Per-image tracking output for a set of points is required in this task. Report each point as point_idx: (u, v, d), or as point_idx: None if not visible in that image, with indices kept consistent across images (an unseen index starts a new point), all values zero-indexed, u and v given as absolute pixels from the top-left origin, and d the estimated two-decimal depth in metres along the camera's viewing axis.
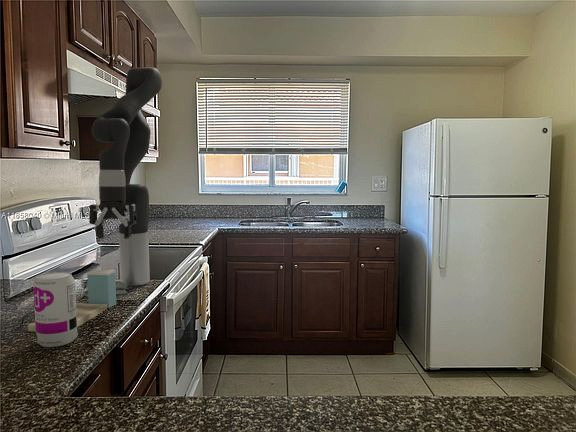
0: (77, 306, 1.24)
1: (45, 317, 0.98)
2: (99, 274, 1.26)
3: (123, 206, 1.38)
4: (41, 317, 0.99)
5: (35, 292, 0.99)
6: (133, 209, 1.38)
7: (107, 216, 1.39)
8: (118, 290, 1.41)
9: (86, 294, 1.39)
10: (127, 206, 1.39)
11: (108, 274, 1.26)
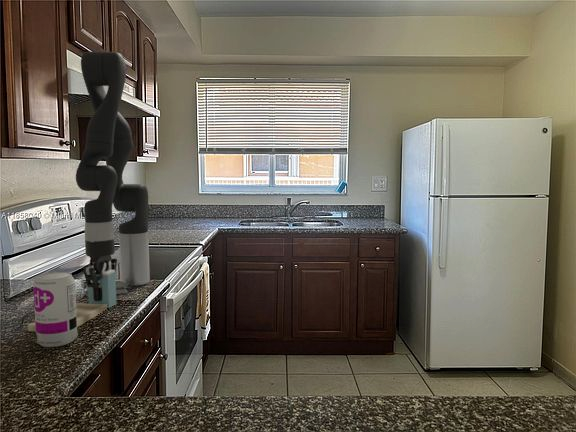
0: (77, 306, 1.24)
1: (45, 317, 0.98)
2: None
3: (111, 259, 1.32)
4: (41, 317, 0.99)
5: (35, 292, 0.99)
6: None
7: None
8: (119, 289, 1.42)
9: (87, 294, 1.39)
10: (111, 259, 1.33)
11: (108, 274, 1.26)
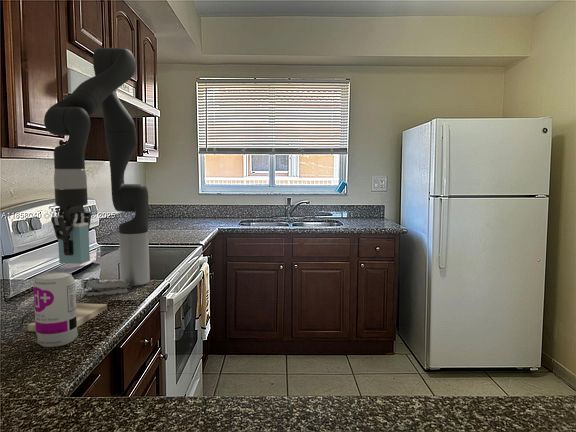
0: (77, 306, 1.24)
1: (45, 317, 0.98)
2: (70, 226, 1.16)
3: (84, 211, 1.22)
4: (41, 317, 0.99)
5: (35, 292, 0.99)
6: None
7: (75, 223, 1.18)
8: (120, 289, 1.42)
9: (88, 293, 1.40)
10: (84, 212, 1.23)
11: (80, 226, 1.16)
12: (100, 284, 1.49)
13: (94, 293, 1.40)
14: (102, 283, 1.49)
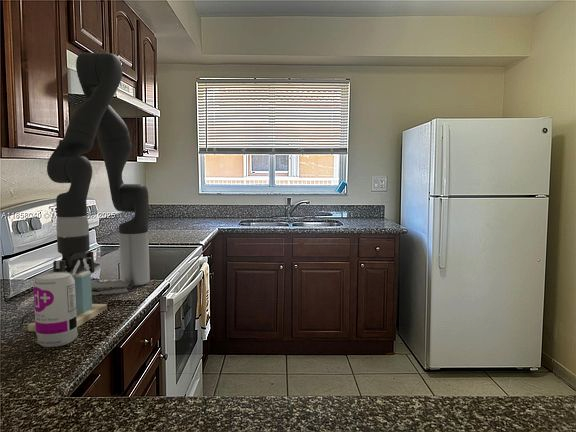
0: None
1: (45, 317, 0.98)
2: None
3: (86, 255, 1.23)
4: (41, 317, 0.99)
5: (35, 292, 0.99)
6: None
7: (75, 270, 1.18)
8: (119, 289, 1.43)
9: None
10: (86, 254, 1.24)
11: (82, 276, 1.18)
12: (100, 284, 1.49)
13: (94, 293, 1.41)
14: (102, 282, 1.49)
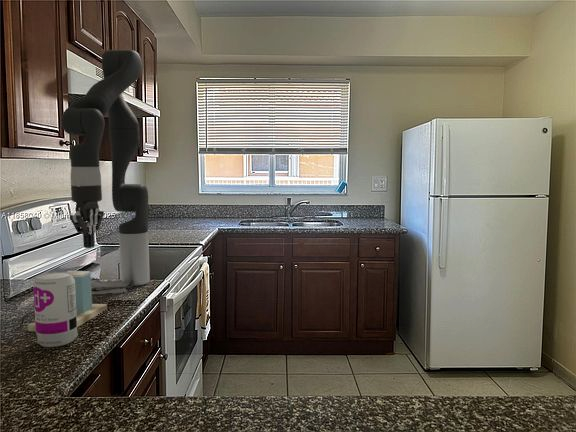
0: None
1: (45, 317, 0.98)
2: (73, 276, 1.18)
3: (98, 208, 1.28)
4: (41, 317, 0.99)
5: (35, 292, 0.99)
6: None
7: (91, 216, 1.25)
8: (118, 289, 1.43)
9: None
10: (98, 210, 1.29)
11: (82, 276, 1.18)
12: (100, 284, 1.50)
13: (93, 292, 1.41)
14: (103, 282, 1.50)
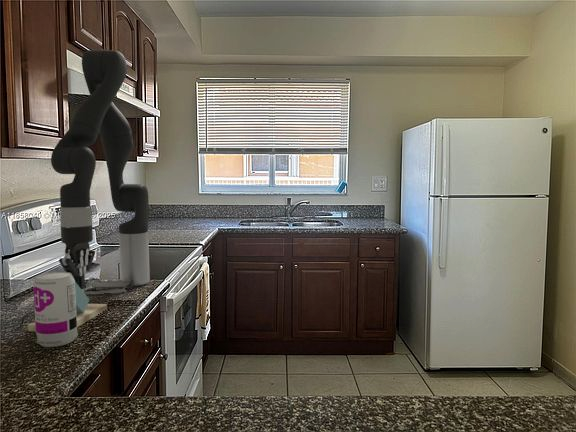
0: None
1: (45, 317, 0.98)
2: None
3: (89, 248, 1.24)
4: (41, 317, 0.99)
5: (35, 292, 0.99)
6: None
7: None
8: (118, 289, 1.43)
9: (86, 292, 1.41)
10: (89, 250, 1.25)
11: None
12: (101, 283, 1.50)
13: (92, 292, 1.41)
14: (103, 282, 1.50)
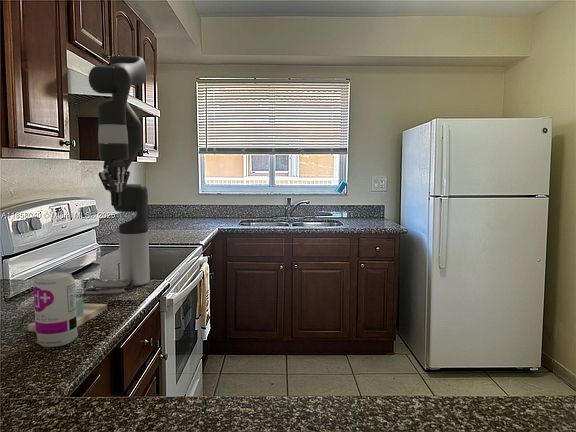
0: None
1: (45, 317, 0.98)
2: None
3: (124, 167, 1.30)
4: (41, 317, 0.99)
5: (35, 292, 0.99)
6: None
7: None
8: (117, 289, 1.43)
9: (86, 292, 1.42)
10: (124, 170, 1.31)
11: None
12: (102, 283, 1.50)
13: (92, 292, 1.42)
14: (104, 281, 1.50)
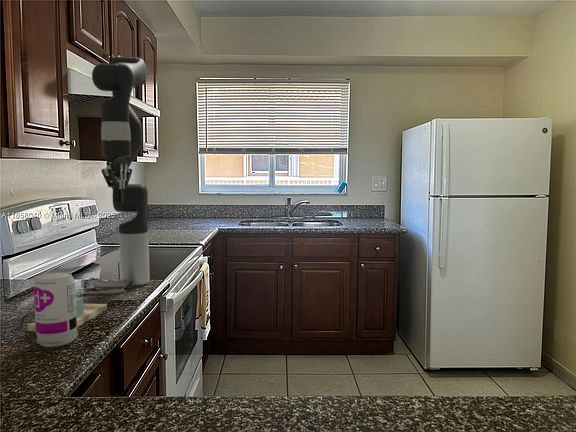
0: None
1: (45, 317, 0.98)
2: None
3: (127, 165, 1.30)
4: (41, 317, 0.99)
5: (35, 292, 0.99)
6: None
7: (121, 172, 1.27)
8: (117, 289, 1.43)
9: (86, 292, 1.42)
10: (127, 167, 1.31)
11: None
12: (102, 283, 1.50)
13: (92, 292, 1.42)
14: (104, 281, 1.50)
